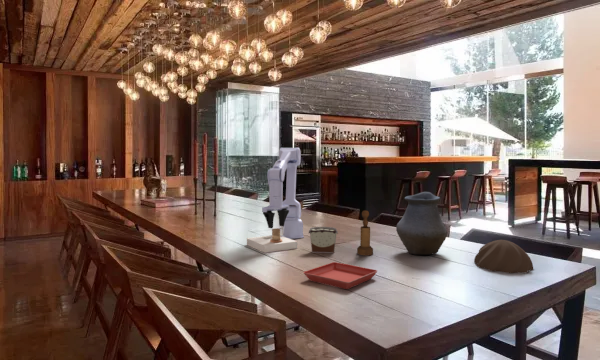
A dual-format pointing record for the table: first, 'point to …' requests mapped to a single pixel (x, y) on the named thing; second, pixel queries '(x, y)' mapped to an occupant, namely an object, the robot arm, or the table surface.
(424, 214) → the grey ceramic jar
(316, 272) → the plant saucer
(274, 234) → the oak peg
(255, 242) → the hole board
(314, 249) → the food container
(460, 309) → the table surface
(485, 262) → the decorative dome
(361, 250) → the brown wooden tall figure
